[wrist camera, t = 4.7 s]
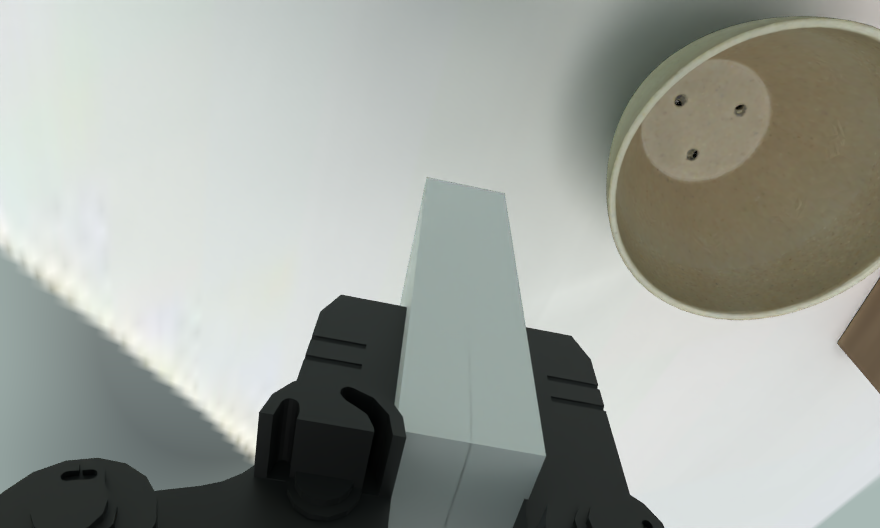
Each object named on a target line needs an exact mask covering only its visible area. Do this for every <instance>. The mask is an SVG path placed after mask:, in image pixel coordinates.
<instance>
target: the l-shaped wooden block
mask: <svg viewBox="0 0 880 528" xmlns="http://www.w3.org/2000/svg"><path fill="white" fill-rule="evenodd" d="M837 344H838V345H839V346H840V347H841V348H842V350H843V351H844V352H845V353H846V354H847V356H848V357H849V358H850V359H851V360H852V361H853V363H854V364H855V365H856V366H857V367H858V368H859V370H860V371H861V372H862V373H863V374H864V376H865V377H866V378H867V379H868V380H869V381H870V383H871V384H872V385H873V386H874V387H875V389H876V390H877V391H878V392H879V393H880V279H879V280H878V282H877V283H876V285H875V286H874V288H873V289H872V291H871V292H870V294H869V296H868V297H867V299H866V300H865V302H864V303H863V305H862V306H861V308H860V309H859V311H858V312H857V314H856V315H855V317H854V318H853V320H852V321H851V323H850V325H849V326H848V328H847V329H846V331H845V332H844V334H843V335H842V337H841V338H840V340H839V341H838V343H837Z"/></svg>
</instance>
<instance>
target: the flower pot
mask: <svg viewBox="0 0 880 528" xmlns="http://www.w3.org/2000/svg"><path fill="white" fill-rule="evenodd" d="M675 100H679V101H681V106H678V105H676V104H675ZM739 105H742V107H740V108H739V109H736V107H737V106H739ZM695 151H697V155H696V157H695V158H693V153H694V152H695ZM606 195H607V208H608V216H609V222H610V227H611V231H612V235H613V239H614V242H615V244H616V247H617V249H618V252H619V254H620V256H621V258H622V259H623V261H624V263H625V265H626V266H627V268H628V269H629V270H630V272H631V273H632V274H633V276H634V277H635V278H636V279H637V281H639V282H640V283H641V284H642V285H643V286H644V287H645V288H646V289H647V290H648V291H649V292H651V293H652V294H653V295H655V296H656V297H658V298H660V299H661V300H663V301H664V302H666V303H668V304H670V305H672V306H674V307H677V308H678V309H681V310H684V311H686V312H690V313H693V314H696V315H701V316H705V317H710V318H716V319H727V320H752V319H761V318H769V317H775V316H780V315H785V314H788V313H792V312H796V311H799V310H802V309H805V308H808V307H811V306H813V305H816V304H818V303H821V302H823V301H825V300H828V299H830V298H832V297H834V296H836V295H838V294H840V293H842V292H844V291H846V290H847V289H849V288H851V287H852V286H854V285H855V284H857V283H858V282H860V281H862V280H863V279H865V278H866V277H867V276H868V275H870V274H871V273H873V272H874V271H875V270H876V269H878V268H879V267H880V29H877V28H875V27H873V26H869V25H866V24H862V23H858V22H854V21H849V20H843V19H835V18H827V17H812V16H790V17H776V18H768V19H761V20H756V21H751V22H746V23H742V24H738V25H734V26H730V27H727V28H724V29H721V30H719V31H716V32H713V33H711V34H708V35H706V36H704V37H702V38H699V39H697V40H695V41H694V42H692V43H690V44H688V45H686V46H685V47H683V48H681V49H680V50H678V51H677V52H676V53H674V54H673V55H671V56H670V57H668V58H667V59H666V60H665V61H663V62H662V63H661V64H660V65H659V66H658V67H657V68H656V69H655V70H654V71H652V72H651V73H650V74H649V75H648V77H647V78H646V79H645V80H644V81H643V82H642V84H641V85H640V86H639V88H638V89H637V90H636V92H635V93H634V95H633V96H632V98H631V99H630V101H629V103H628V104H627V106H626V108H625V110H624V112H623V114H622V116H621V118H620V121H619V123H618V125H617V128H616V131H615V134H614V137H613V141H612V145H611V149H610V154H609V160H608V167H607V184H606Z"/></svg>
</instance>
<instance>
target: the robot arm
mask: <svg viewBox="0 0 880 528" xmlns="http://www.w3.org/2000/svg"><path fill="white" fill-rule="evenodd" d="M597 386H598V383H597V380H596V376H595V373H594V369H593V366H592V362H591V359H590V358H589V357H588V356H587V354H586V353H585V352H584V351H583V350H582V348H581V347H580V346H579V345H578V343H577V342H576V341H575V340H574V339H573V337H572V336H569V335H564V334H559V333H553V332H548V331H543V330H537V329H532V328H527V327H526V326H525V320H524V313H523V307H522V301H521V294H520V288H519V282H518V275H517V269H516V263H515V256H514V250H513V243H512V237H511V231H510V224H509V218H508V212H507V205H506V199H505V193H501V192H496V191H491V190H486V189H481V188H476V187H472V186H467V185H462V184H457V183H452V182H447V181H442V180H438V179H433V178H428V177H427V179H426V183H425V188H424V193H423V198H422V202H421V207H420V212H419V216H418V221H417V226H416V231H415V235H414V240H413V245H412V249H411V254H410V259H409V264H408V268H407V273H406V278H405V283H404V287H403V292H402V297H401V303H400V306H398V305H393V304H388V303H382V302H377V301H372V300H366V299H361V298H356V297H351V296H345V295H340V296H339V297H338V298H337V299H335V300H334V301H333V302H332V303H330V304H329V305H328V306H327V307H326V308H324V309H323V310H322V311H321V312H320V314H319V317H318V320H317V323H316V326H315V329H314V332H313V335H312V339H311V341H310V343H309V346H308V349H307V352H306V356H305V359H304V361H303V364H302V367H301V370H300V372H299V375H298V378H297V381H294V382H292V383H290V384H288V385H287V386H285V387H283V388H282V389H280V390H278V391H277V392H275V393H273V394H272V395H271V397H270V398H269V399H268V401H267V402H266V404H265V405H264V406H263V408H262V409H261V411H260V412H259V421H258V432H257V444H256V455H255V465H254V466H253V467H251V468H250V469H248V470H247V471H245V472H243V473H242V474H240V475H237V476H235V477H232V478H230V479H227V480H225V481H222V482H218V483H213V484H208V485H203V486H195V487H187V488H178V489H168V490H159V491H154V490H153V488H152V486H151V484H150V483H149V481H148V479H147V477H146V476H144V475H143V474H141V473H140V472H138V471H137V470H135V469H134V468H132V467H131V466H129V465H127V464H126V463H121V462H116V461H111V460H106V459H101V458H91V459H80V460H69V461H64V462H61V463H58V464H55V465H53V466H50V467H47V468H44V469H41V470H38V471H36V472H33V473H32V474H30V475H28V476H27V477H25V478H24V479H22V480H21V481H19V482H18V483H16V484H15V485H13V486H12V487H10V488H8V489H7V490H5V491H4V492H3V493H2V494H0V528H664V526H663V524H662V522H661V521H660V520H659V519H658V518H657V517H656V516H655V515H654V514H653V513H652V512H651V511H650V510H649V509H648V508H647V507H646V506H645V505H644V504H643V503H642V502H640V501H639V500H637V499H636V498H634V497H632V496H631V495H630V493H629V490H628V486H627V483H626V480H625V476H624V473H623V469H622V466H621V462H620V459H619V455H618V452H617V449H616V445H615V442H614V438H613V435H612V431H611V428H610V424H609V421H608V418H607V414H606V411H603V408H604V404H603V400H602V397H601V393H600V390H598V389H597Z"/></svg>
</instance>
